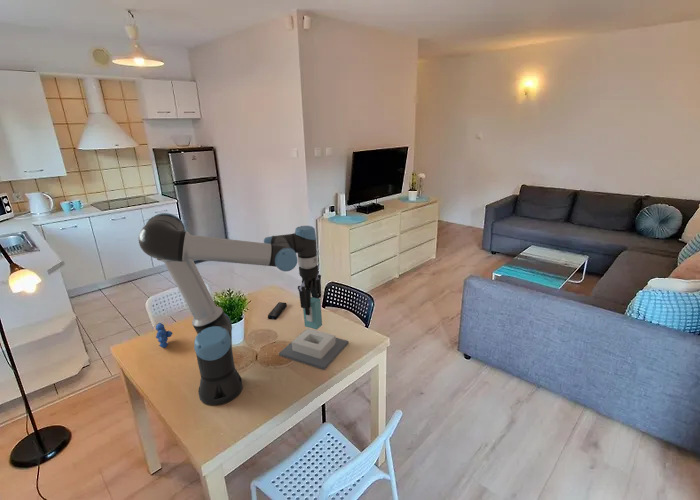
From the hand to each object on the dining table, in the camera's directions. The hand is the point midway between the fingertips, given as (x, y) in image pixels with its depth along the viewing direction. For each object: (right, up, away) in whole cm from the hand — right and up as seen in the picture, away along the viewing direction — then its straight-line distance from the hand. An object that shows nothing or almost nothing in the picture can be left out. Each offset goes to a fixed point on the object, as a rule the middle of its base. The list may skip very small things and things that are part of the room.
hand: (312, 317), depth 152 cm
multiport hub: (-22, -4, +37) cm, 43 cm away
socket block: (0, -14, +5) cm, 15 cm away
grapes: (-65, -15, +10) cm, 67 cm away
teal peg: (0, -3, +1) cm, 4 cm away
